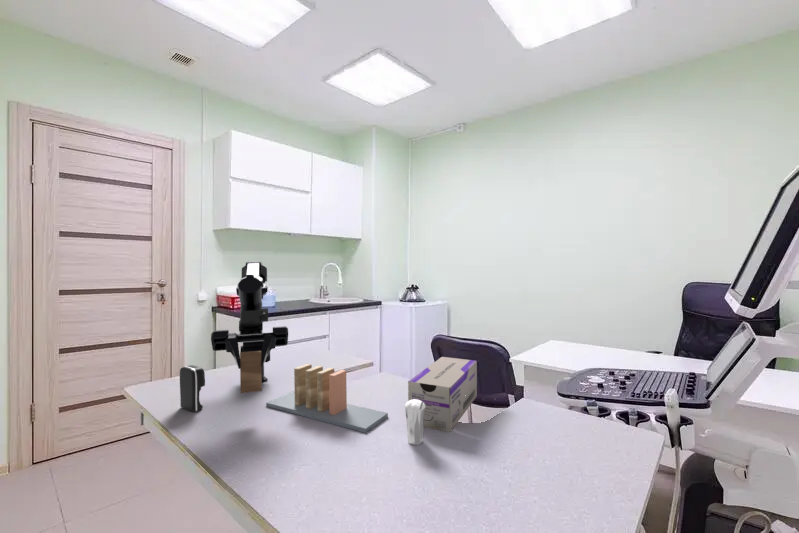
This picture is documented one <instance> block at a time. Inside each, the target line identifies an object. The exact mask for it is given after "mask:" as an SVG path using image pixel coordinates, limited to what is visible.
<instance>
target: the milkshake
mask: <svg viewBox="0 0 799 533" xmlns="http://www.w3.org/2000/svg"><path fill="white" fill-rule="evenodd" d="M404 410H405V419H406V422H405V423H406V432H407V433H406V434H407V443H408V444H410V445H412V446H419V445H421V444H423V438H424V428H425V427H424V417H425V404H424V403H423V401H421V400H418V399H412V400H409V401H408V400H407V401H406V403H404Z"/></svg>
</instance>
